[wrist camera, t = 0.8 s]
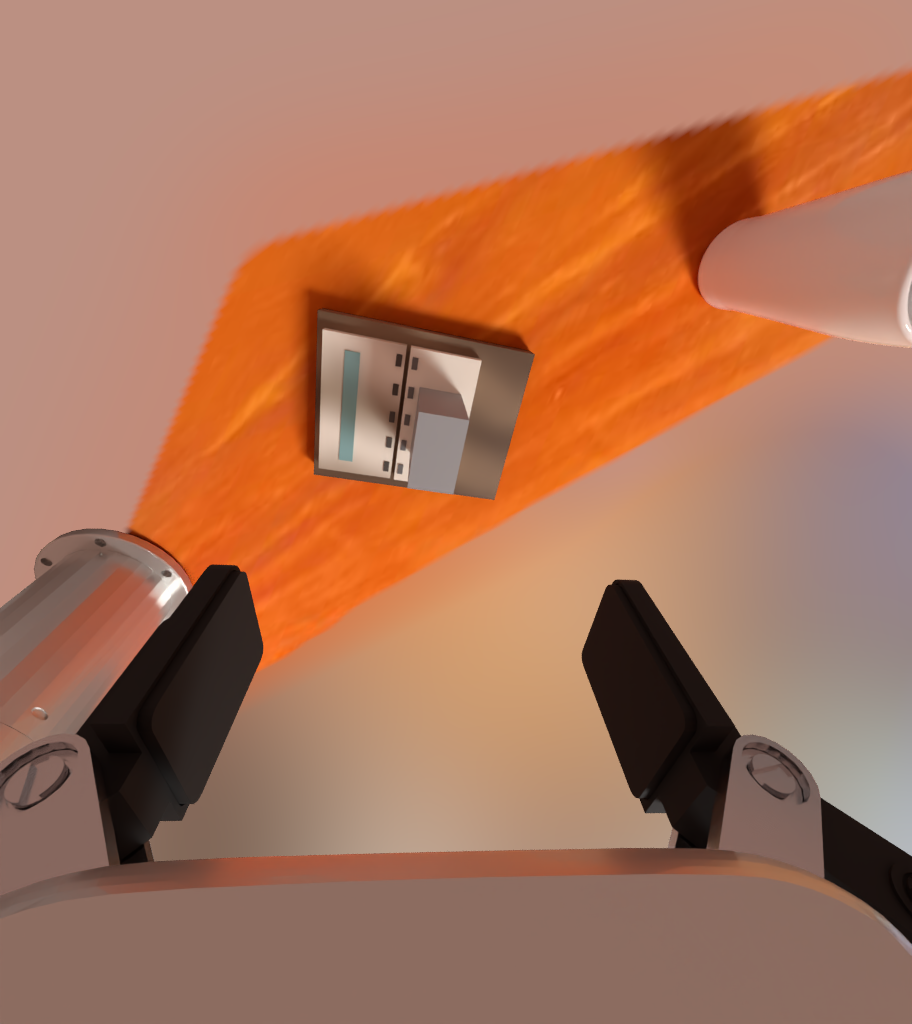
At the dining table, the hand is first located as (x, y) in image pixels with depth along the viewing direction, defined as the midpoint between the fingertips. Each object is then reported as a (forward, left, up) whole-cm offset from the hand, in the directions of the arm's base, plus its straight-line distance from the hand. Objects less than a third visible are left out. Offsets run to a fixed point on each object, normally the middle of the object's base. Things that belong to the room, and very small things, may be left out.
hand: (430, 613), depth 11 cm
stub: (-2, -1, -22) cm, 22 cm away
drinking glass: (+12, -20, -24) cm, 33 cm away
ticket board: (-2, 0, -24) cm, 24 cm away
